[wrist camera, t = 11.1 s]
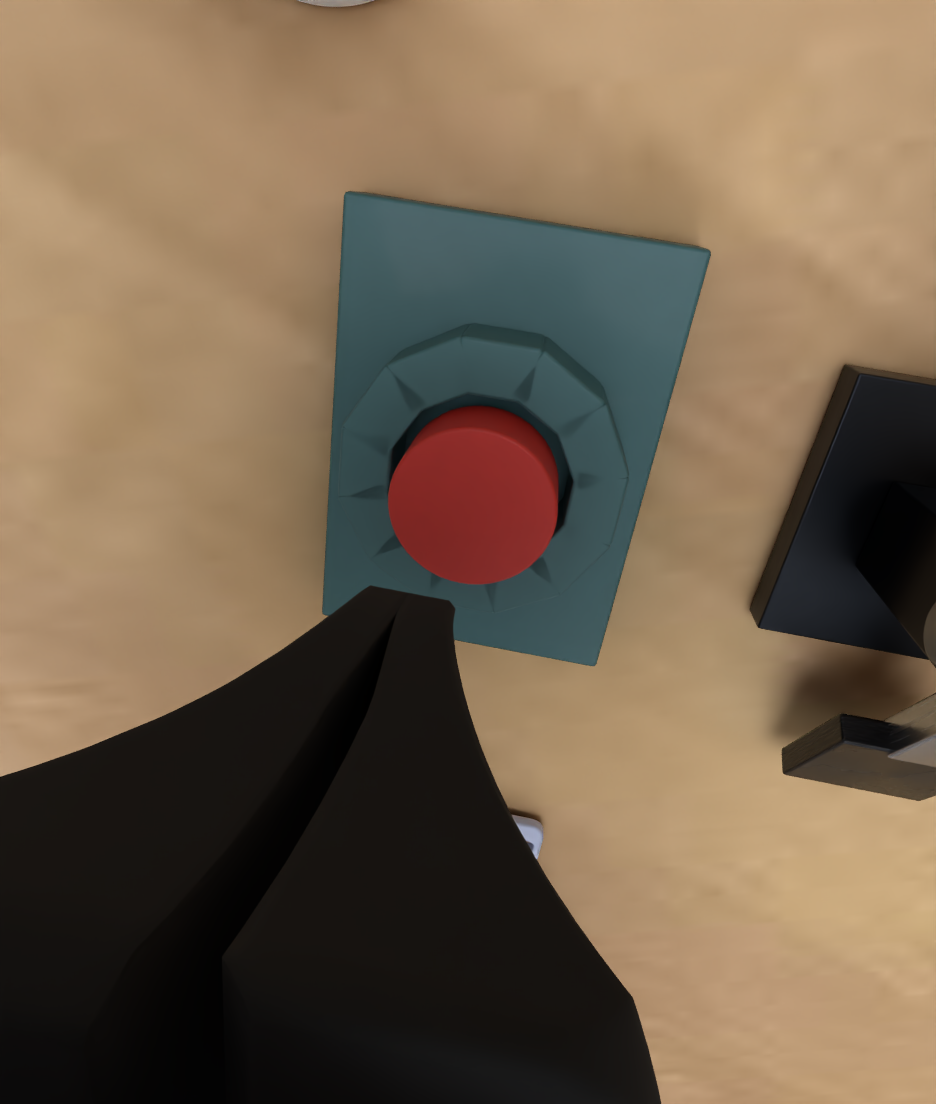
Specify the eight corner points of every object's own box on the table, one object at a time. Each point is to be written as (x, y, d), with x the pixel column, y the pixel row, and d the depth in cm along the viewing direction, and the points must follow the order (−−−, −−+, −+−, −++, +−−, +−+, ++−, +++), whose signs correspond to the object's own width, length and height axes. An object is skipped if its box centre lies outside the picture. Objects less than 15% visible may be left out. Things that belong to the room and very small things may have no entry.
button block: (593, 640, 21) (598, 709, 18) (335, 591, 21) (299, 651, 19) (701, 246, 16) (730, 255, 13) (360, 191, 16) (316, 189, 13)
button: (542, 563, 17) (539, 599, 15) (397, 536, 17) (380, 569, 16) (573, 419, 15) (574, 444, 14) (412, 391, 15) (395, 412, 14)
